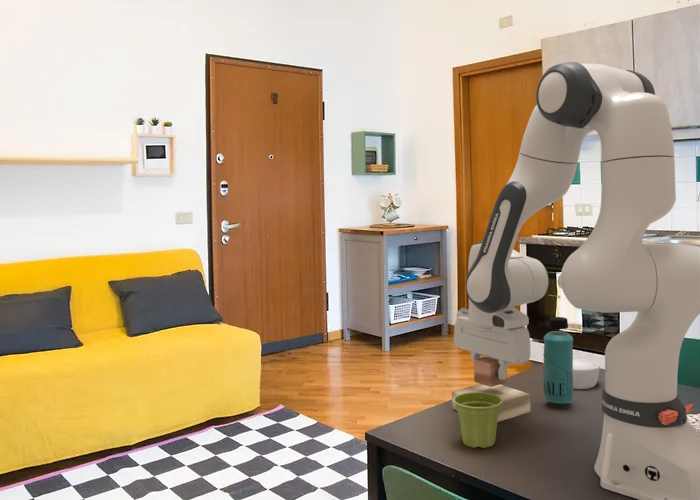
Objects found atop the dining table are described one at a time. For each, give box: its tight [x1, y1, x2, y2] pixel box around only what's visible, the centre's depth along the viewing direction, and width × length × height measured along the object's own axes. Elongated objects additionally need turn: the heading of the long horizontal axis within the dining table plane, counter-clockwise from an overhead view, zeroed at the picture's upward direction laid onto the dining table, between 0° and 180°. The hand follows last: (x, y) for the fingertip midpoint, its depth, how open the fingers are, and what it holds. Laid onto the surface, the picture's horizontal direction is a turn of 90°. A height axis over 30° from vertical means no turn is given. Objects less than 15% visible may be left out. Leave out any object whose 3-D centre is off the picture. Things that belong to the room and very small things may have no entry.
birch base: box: [451, 383, 531, 423], centre depth 143 cm, size 12×12×4 cm
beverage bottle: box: [542, 316, 574, 404], centre depth 144 cm, size 6×7×20 cm
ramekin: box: [573, 357, 601, 390], centre depth 160 cm, size 11×11×5 cm
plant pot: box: [453, 392, 503, 449], centre depth 125 cm, size 9×9×9 cm
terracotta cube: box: [473, 356, 508, 387], centre depth 143 cm, size 5×5×5 cm
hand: (490, 375), depth 143 cm, fingers closed on terracotta cube, 5 cm apart
